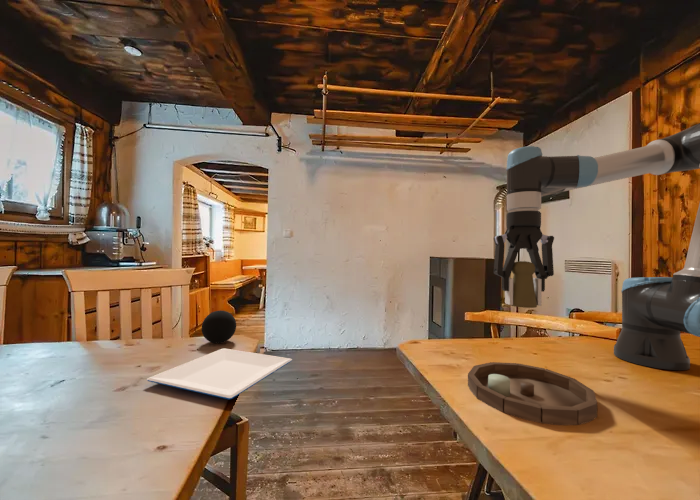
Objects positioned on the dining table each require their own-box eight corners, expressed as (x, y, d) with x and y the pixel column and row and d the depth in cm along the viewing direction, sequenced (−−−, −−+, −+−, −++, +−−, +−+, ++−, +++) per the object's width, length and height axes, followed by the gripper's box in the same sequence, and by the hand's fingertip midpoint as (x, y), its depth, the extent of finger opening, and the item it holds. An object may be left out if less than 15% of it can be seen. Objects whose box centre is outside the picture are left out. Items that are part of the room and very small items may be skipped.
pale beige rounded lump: (504, 388, 64) (504, 374, 64) (513, 397, 60) (513, 382, 60) (485, 387, 64) (485, 373, 64) (492, 396, 60) (492, 381, 60)
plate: (145, 388, 65) (145, 378, 65) (222, 354, 86) (223, 347, 86) (230, 408, 57) (230, 397, 57) (293, 366, 78) (293, 358, 78)
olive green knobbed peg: (541, 308, 73) (541, 261, 73) (513, 307, 74) (513, 261, 74) (531, 304, 79) (531, 261, 79) (506, 303, 80) (506, 260, 80)
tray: (551, 378, 72) (552, 364, 72) (631, 434, 50) (631, 413, 50) (456, 374, 73) (456, 360, 74) (492, 427, 52) (492, 406, 52)
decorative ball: (197, 348, 90) (197, 314, 90) (206, 338, 100) (206, 308, 100) (233, 346, 92) (233, 313, 92) (238, 337, 102) (238, 307, 102)
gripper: (554, 213, 79) (553, 302, 79) (479, 213, 81) (478, 301, 81) (573, 209, 72) (572, 308, 72) (490, 209, 73) (489, 306, 73)
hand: (522, 304), depth 76 cm, fingers closed on olive green knobbed peg, 6 cm apart
